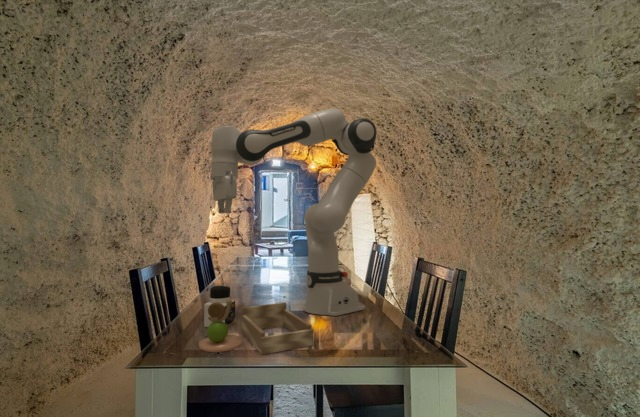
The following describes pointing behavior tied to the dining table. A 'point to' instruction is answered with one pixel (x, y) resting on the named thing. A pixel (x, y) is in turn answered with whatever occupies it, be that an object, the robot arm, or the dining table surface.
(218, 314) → the snail figurine
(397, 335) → the dining table surface
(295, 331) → the cold frame
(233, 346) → the tan disc
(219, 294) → the medicine bottle
